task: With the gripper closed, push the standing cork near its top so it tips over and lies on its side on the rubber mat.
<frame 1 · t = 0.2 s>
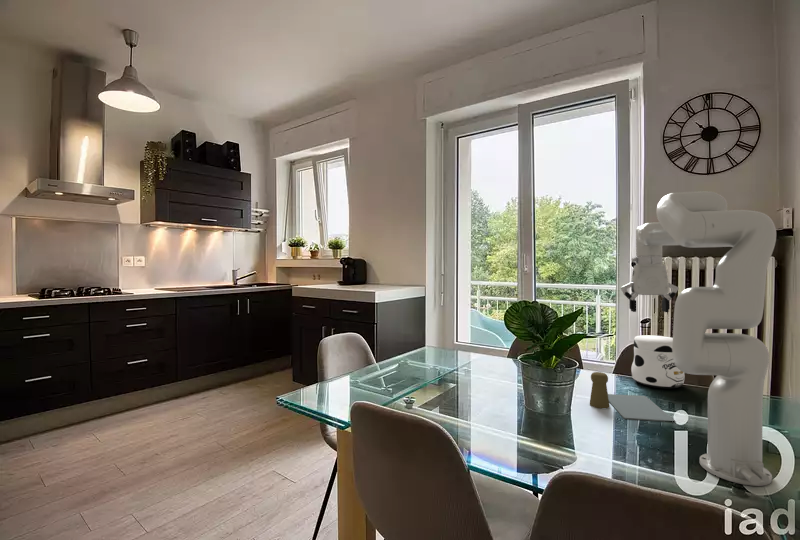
hand: (649, 311, 133), 31 cm above the table, tool pointing down, fingers open, 9 cm apart
cork: (599, 405, 131), on the table
milk container: (657, 385, 152), on the table
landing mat: (635, 407, 129), on the table
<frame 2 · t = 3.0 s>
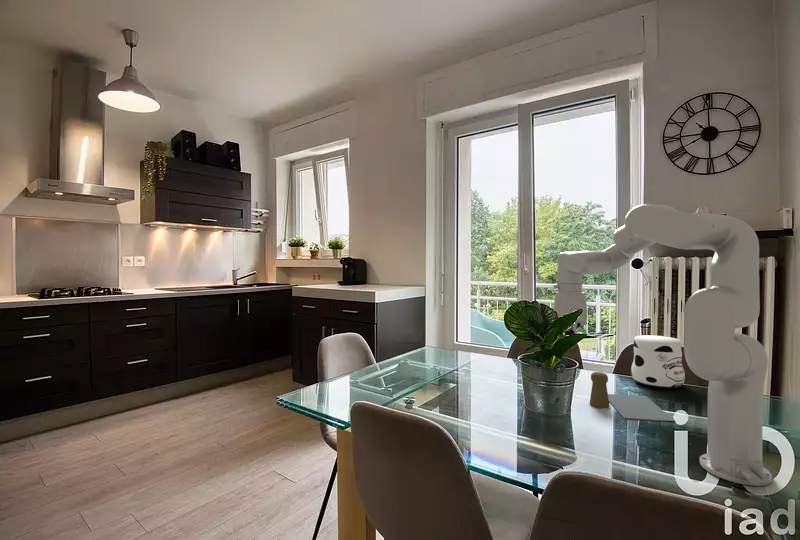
hand: (569, 341, 133), 21 cm above the table, tool pointing down, fingers closed
nothing on the table moved.
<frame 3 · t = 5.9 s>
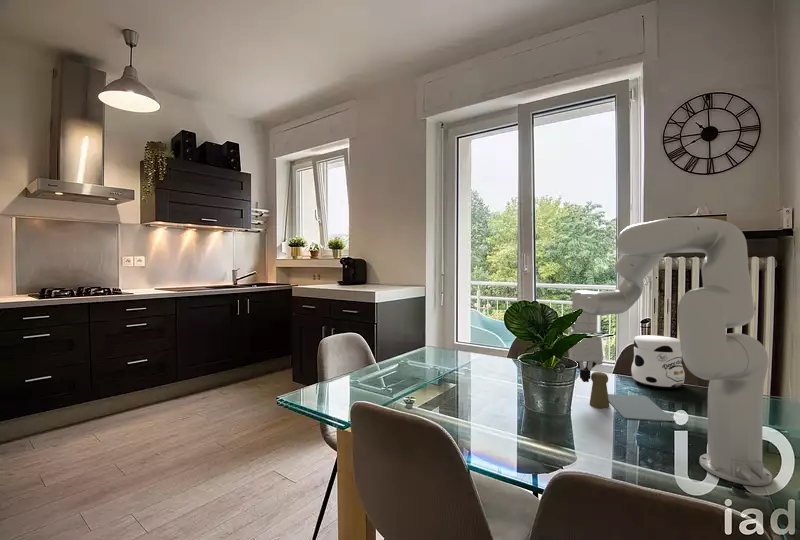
hand: (585, 380, 132), 8 cm above the table, tool pointing down, fingers closed
cork: (599, 405, 131), on the table, touching gripper
everything else where it was.
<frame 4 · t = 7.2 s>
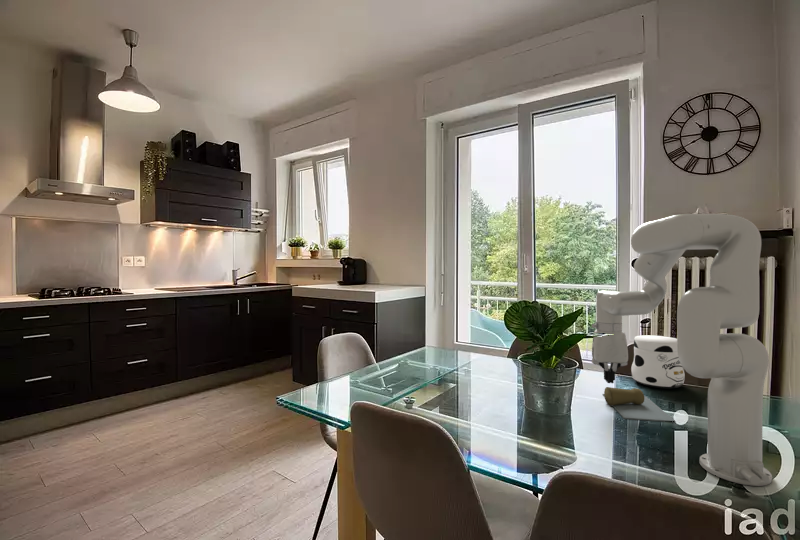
hand: (609, 381, 130), 8 cm above the table, tool pointing down, fingers closed
cork: (607, 396, 131), point 3 cm above the table, touching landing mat
everything else where it was.
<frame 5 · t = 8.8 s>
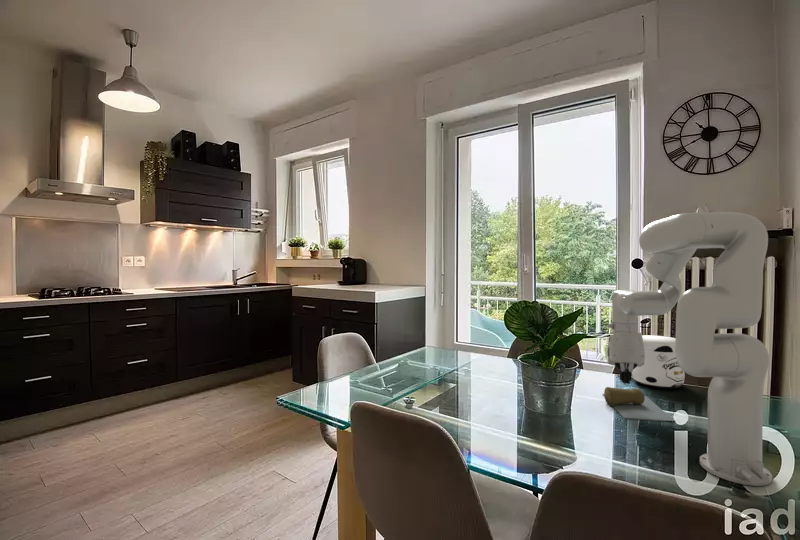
hand: (625, 382, 129), 8 cm above the table, tool pointing down, fingers closed
nothing on the table moved.
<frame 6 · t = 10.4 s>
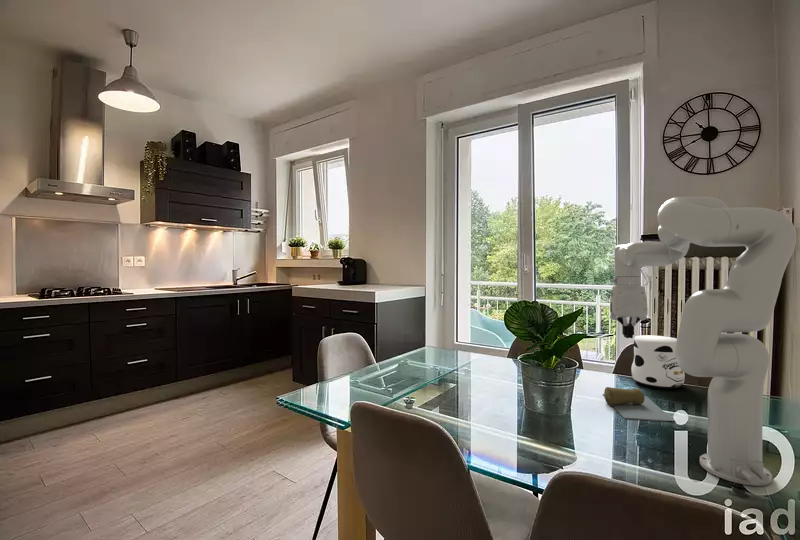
hand: (628, 337, 128), 23 cm above the table, tool pointing down, fingers closed
nothing on the table moved.
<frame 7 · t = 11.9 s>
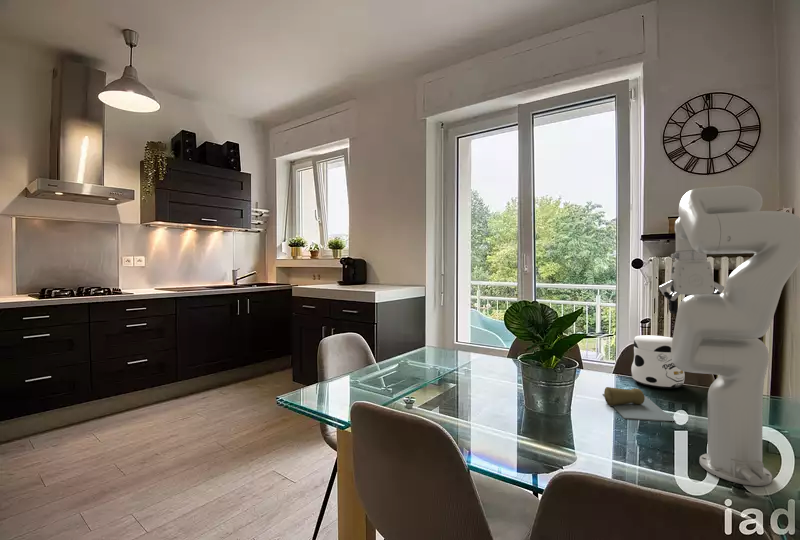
hand: (690, 313, 119), 32 cm above the table, tool pointing down, fingers open, 9 cm apart
nothing on the table moved.
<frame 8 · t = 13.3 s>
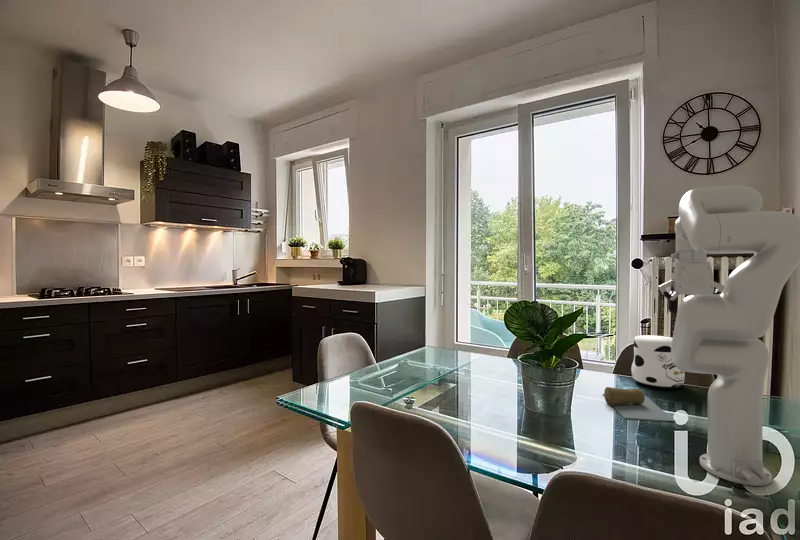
hand: (690, 313, 119), 32 cm above the table, tool pointing down, fingers open, 9 cm apart
nothing on the table moved.
at the end: cork tilted 90°; cork inside the target area (4.2 cm from its centre), point 3.0 cm above the table; the gripper is holding nothing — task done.
